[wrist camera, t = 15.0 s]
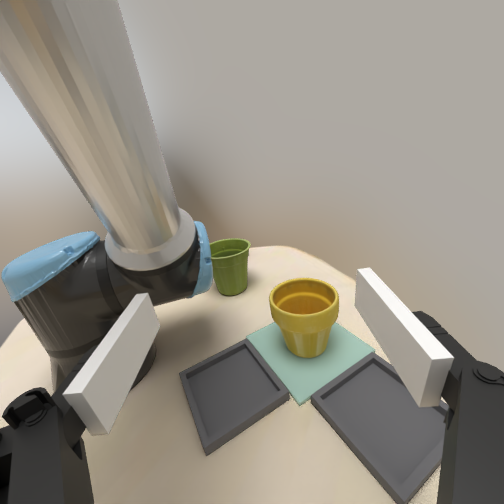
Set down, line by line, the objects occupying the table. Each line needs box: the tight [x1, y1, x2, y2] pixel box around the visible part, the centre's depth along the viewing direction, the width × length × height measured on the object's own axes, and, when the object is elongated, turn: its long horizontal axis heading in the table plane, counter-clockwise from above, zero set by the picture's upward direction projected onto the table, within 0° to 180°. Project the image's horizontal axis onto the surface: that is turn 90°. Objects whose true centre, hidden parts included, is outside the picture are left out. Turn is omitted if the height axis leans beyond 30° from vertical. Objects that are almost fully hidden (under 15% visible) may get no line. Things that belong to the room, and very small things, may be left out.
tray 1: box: [179, 338, 290, 456], centre depth 35 cm, size 12×12×2 cm
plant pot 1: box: [209, 239, 251, 296], centre depth 58 cm, size 12×12×11 cm
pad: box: [246, 322, 375, 406], centre depth 41 cm, size 15×15×1 cm
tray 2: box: [311, 352, 449, 504], centre depth 29 cm, size 12×12×2 cm
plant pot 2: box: [269, 278, 339, 358], centre depth 38 cm, size 10×10×10 cm
